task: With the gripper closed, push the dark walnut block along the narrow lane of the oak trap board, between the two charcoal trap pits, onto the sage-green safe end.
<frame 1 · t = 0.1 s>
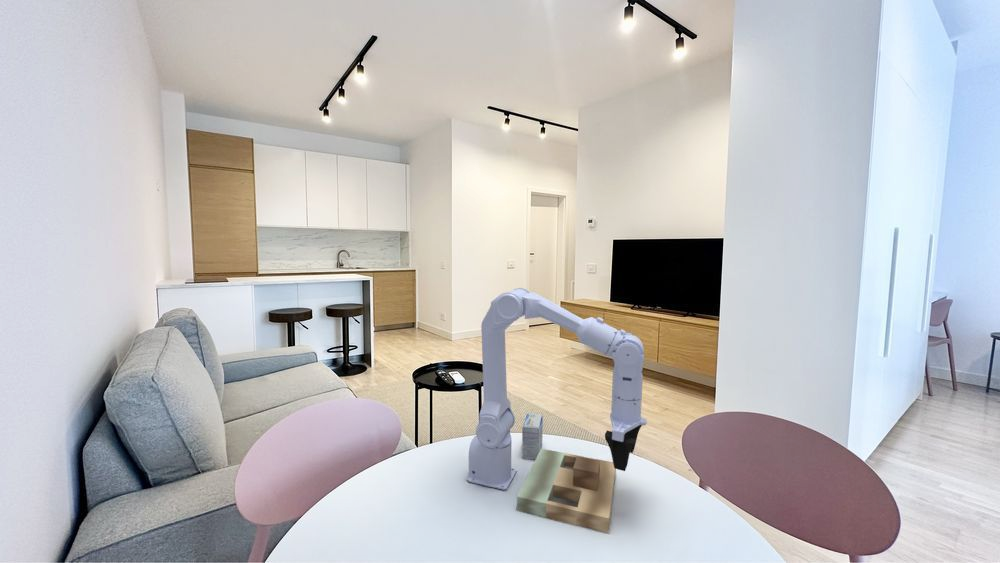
hand: (624, 459, 80), 10 cm above the table, tool pointing down, fingers open, 7 cm apart
medicine box: (532, 452, 102), on the table
walnut block: (586, 481, 84), point 3 cm above the table, touching trap board
trap board: (569, 491, 85), on the table
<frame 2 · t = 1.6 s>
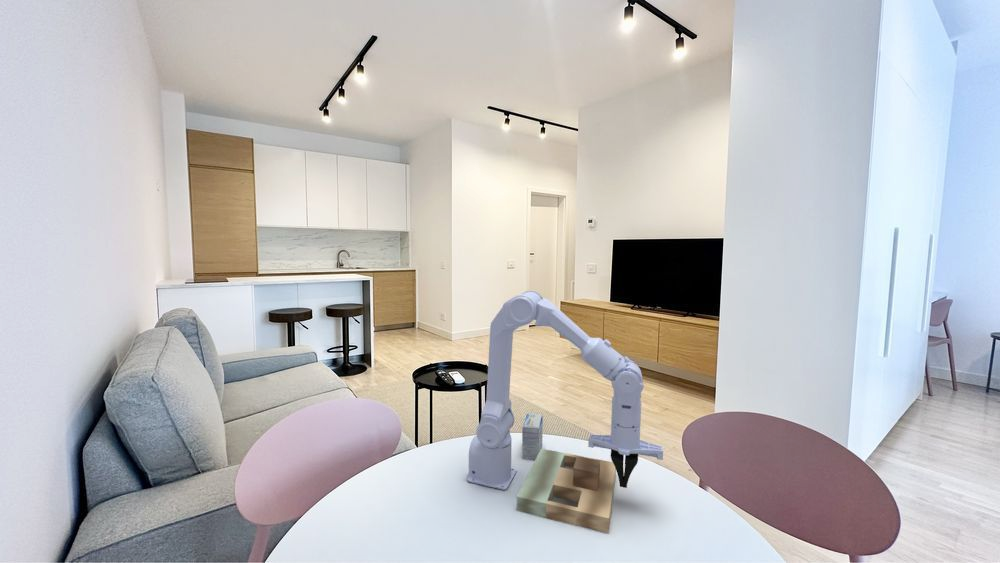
hand: (623, 484, 81), 4 cm above the table, tool pointing down, fingers closed
nothing on the table moved.
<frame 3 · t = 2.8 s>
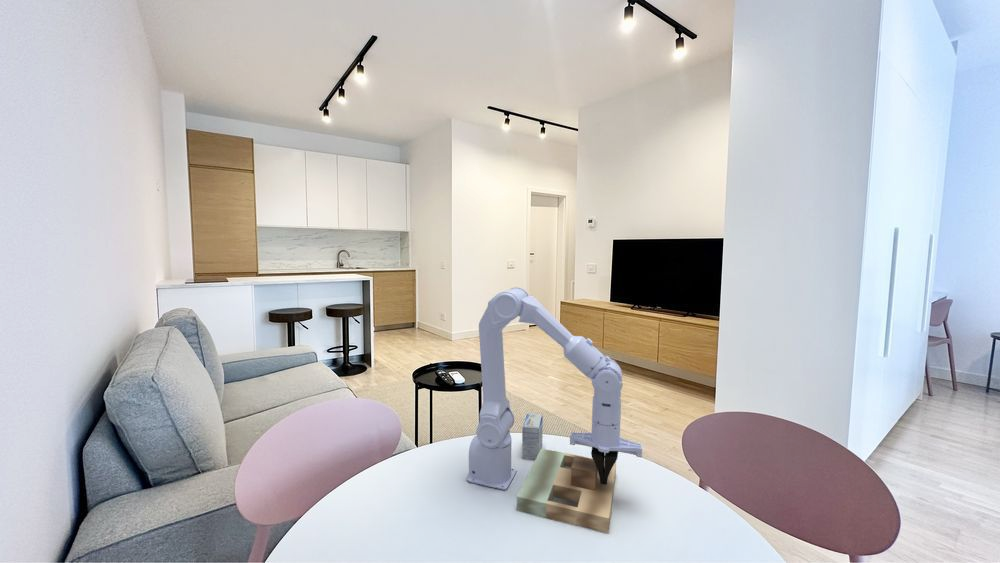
hand: (603, 481, 83), 4 cm above the table, tool pointing down, fingers closed
walnut block: (584, 481, 84), point 3 cm above the table, touching gripper, trap board
everything else where it was.
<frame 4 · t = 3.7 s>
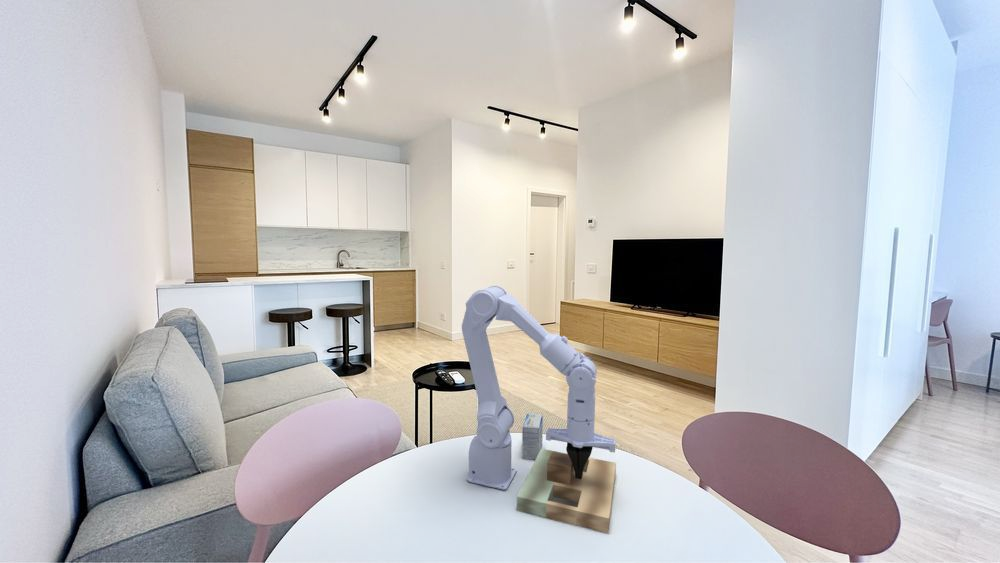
hand: (579, 476, 84), 4 cm above the table, tool pointing down, fingers closed
walnut block: (560, 476, 86), point 3 cm above the table, touching gripper
everything else where it was.
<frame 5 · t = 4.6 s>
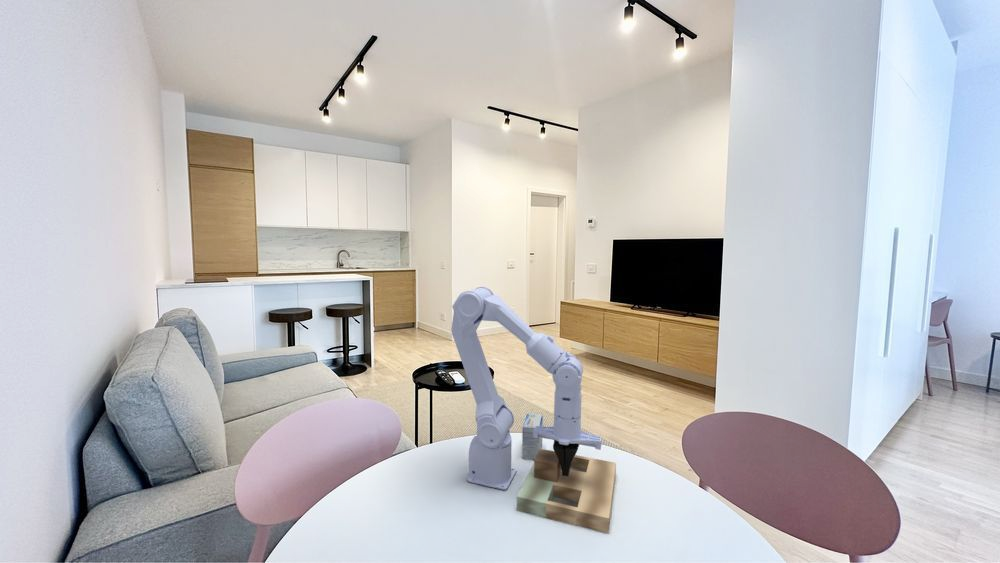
hand: (565, 473, 85), 4 cm above the table, tool pointing down, fingers closed
walnut block: (547, 473, 87), point 3 cm above the table, touching gripper, trap board
everything else where it was.
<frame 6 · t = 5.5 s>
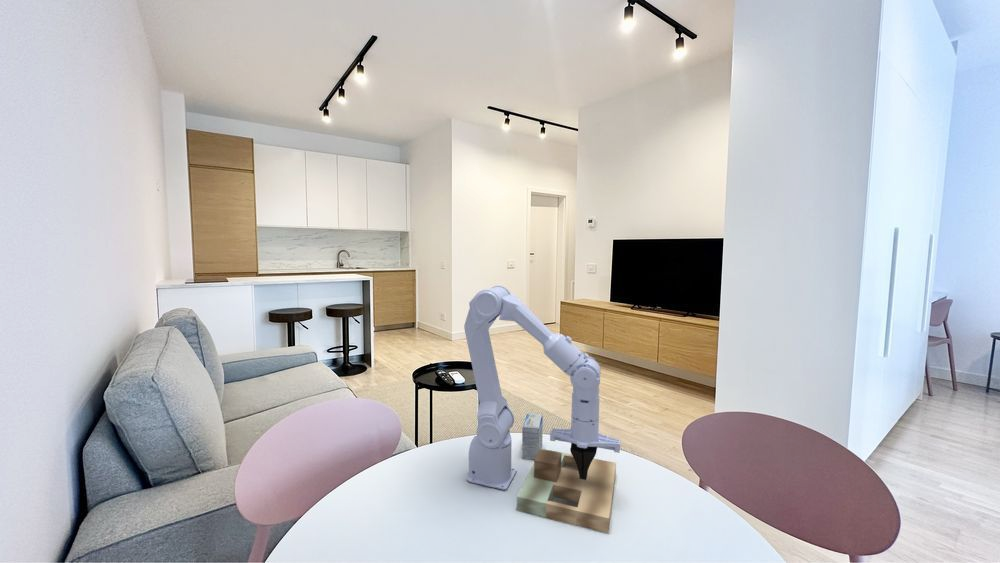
hand: (583, 476, 84), 4 cm above the table, tool pointing down, fingers closed
walnut block: (547, 473, 87), point 3 cm above the table, touching trap board
everything else where it was.
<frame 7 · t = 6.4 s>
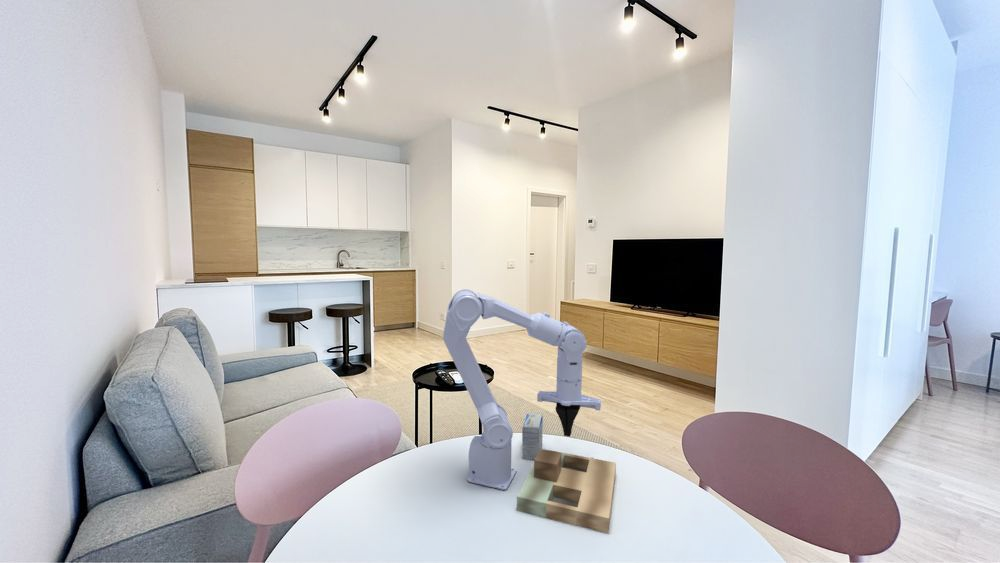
hand: (567, 434, 92), 9 cm above the table, tool pointing down, fingers closed
nothing on the table moved.
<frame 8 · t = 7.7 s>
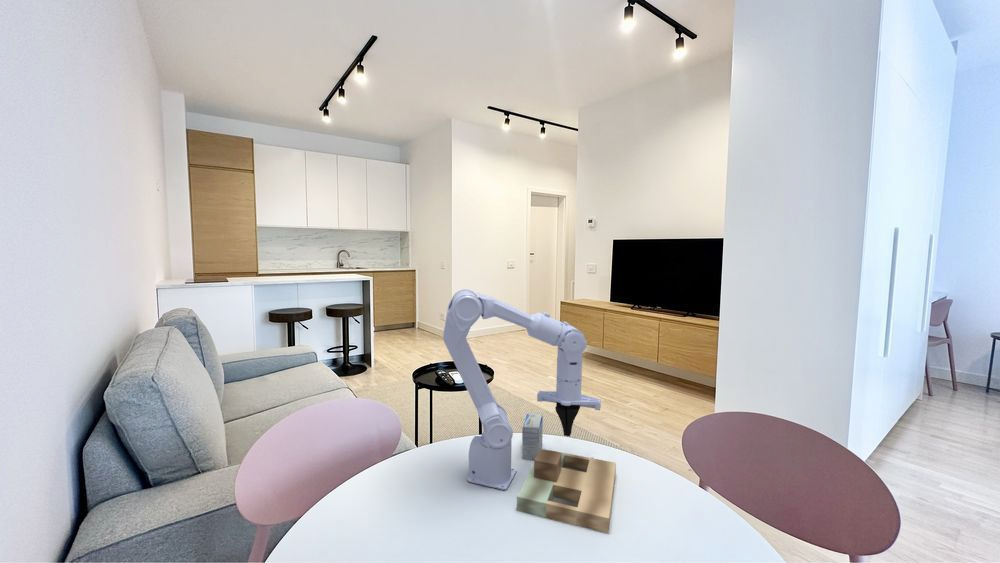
hand: (567, 434, 92), 9 cm above the table, tool pointing down, fingers closed
nothing on the table moved.
at the end: walnut block 0.0 cm from the target spot, point 3.0 cm above the table; walnut block tilted 0° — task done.
